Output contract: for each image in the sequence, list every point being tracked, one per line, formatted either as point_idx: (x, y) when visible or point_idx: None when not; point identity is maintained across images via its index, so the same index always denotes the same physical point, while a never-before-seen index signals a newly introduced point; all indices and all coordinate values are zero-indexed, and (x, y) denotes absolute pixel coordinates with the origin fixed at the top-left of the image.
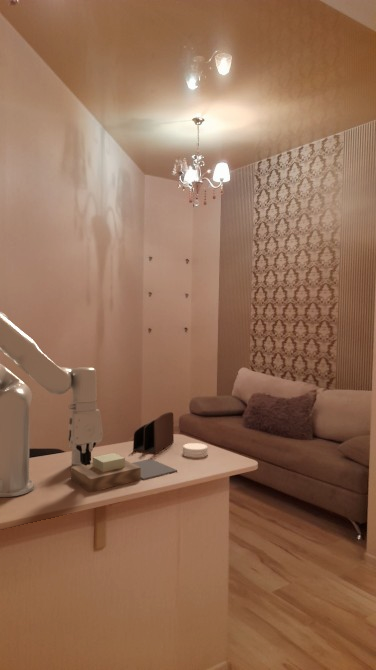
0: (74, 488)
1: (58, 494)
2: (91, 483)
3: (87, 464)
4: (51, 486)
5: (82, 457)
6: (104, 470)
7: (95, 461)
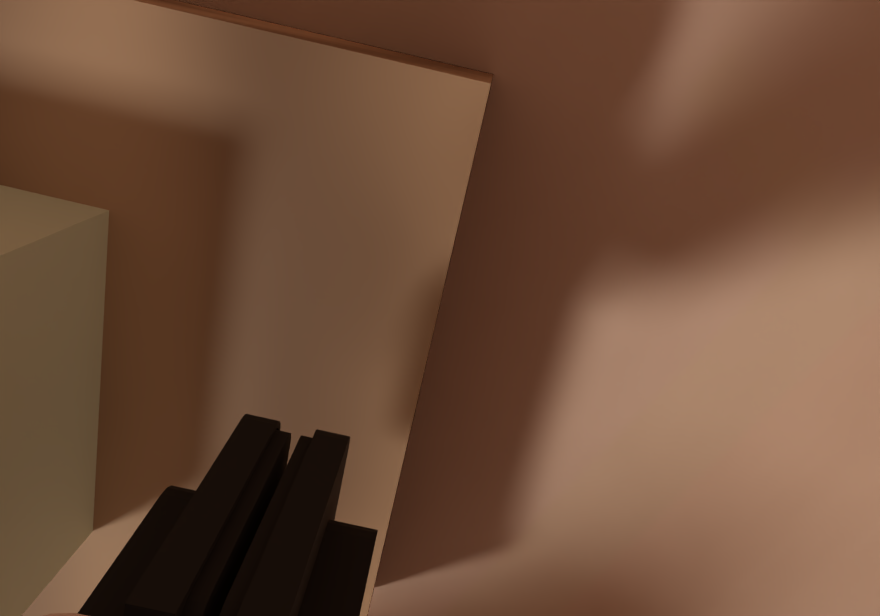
0: (540, 345)
1: (805, 341)
2: (480, 76)
3: (303, 436)
4: (664, 581)
5: (361, 606)
6: (67, 207)
7: (33, 516)
